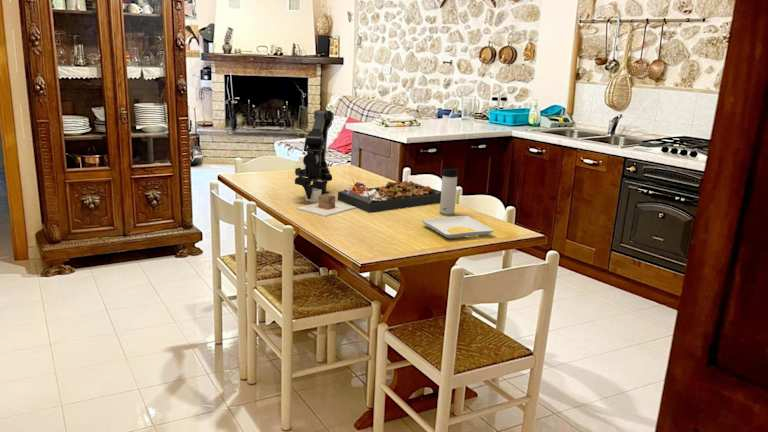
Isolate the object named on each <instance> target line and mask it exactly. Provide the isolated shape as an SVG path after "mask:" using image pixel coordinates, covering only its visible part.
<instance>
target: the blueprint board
mask: <svg viewBox="0 0 768 432" xmlns="http://www.w3.org/2000/svg"><path fill="white" fill-rule="evenodd" d="M354 209H355V210H356V209H357V208H356V207H354V206H351V205H349V204H346V203H343V202H337V201H335V207H334V208H330V209H324V208H320V207H318V202H314V203H310V204H306V205H302V206H298V207H296V210H297V211H301V212H306V213H309V214H314V215H317V216H321V217H325V218H326V217H329V216H333V215H336V214H341V213H344V212H347V211H352V210H354Z"/></svg>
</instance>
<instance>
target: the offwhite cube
mask: <svg viewBox="0 0 768 432" xmlns="http://www.w3.org/2000/svg"><path fill="white" fill-rule="evenodd" d="M321 192H322V190H321V189H316V188H313V189H312V194H311V198H310V199H308V198H307V195H306V192H305V201H308V202H311V203H318V200H319V195H322V194H321Z"/></svg>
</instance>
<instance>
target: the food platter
mask: <svg viewBox="0 0 768 432" xmlns="http://www.w3.org/2000/svg"><path fill="white" fill-rule="evenodd" d="M351 180H352V182H353V184H354V185H352V186H350V188H348V189H343V190H341V191H338V192H337V201H339V202H340V203H343V204H346V205H350V206H354V207H356V208H355V209H359V210H361V211H364V212H366V213H369V214H372V213H377V212H378V213H379V212H384V211H385V210H386V211H391V210H399V208H400V209H406V207H408V208H414V206H415V207H421V205H422V206H428V204H430V205H435V203H437V204H440V201H441V190H438V189H434V188H432V187H431V186H430V185H426V186H425V185H422V184H418V183H415V182H414V181H412V180H410V181H408V180H405V181H400V180H396V181H395V182H393V181H388V182H387V183H386V185H384V186H378V187H369V188H368V187H366V184H365V183H364V182H363V183H362V182H359V181H357V182H355V181H354V179H353V178H351Z"/></svg>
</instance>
